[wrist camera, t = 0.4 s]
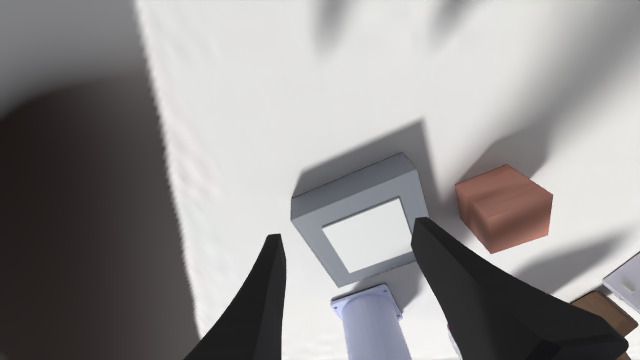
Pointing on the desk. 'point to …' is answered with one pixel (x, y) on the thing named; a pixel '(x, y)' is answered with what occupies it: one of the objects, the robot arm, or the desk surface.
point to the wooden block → (608, 314)
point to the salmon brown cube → (504, 208)
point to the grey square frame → (362, 220)
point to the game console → (626, 283)
